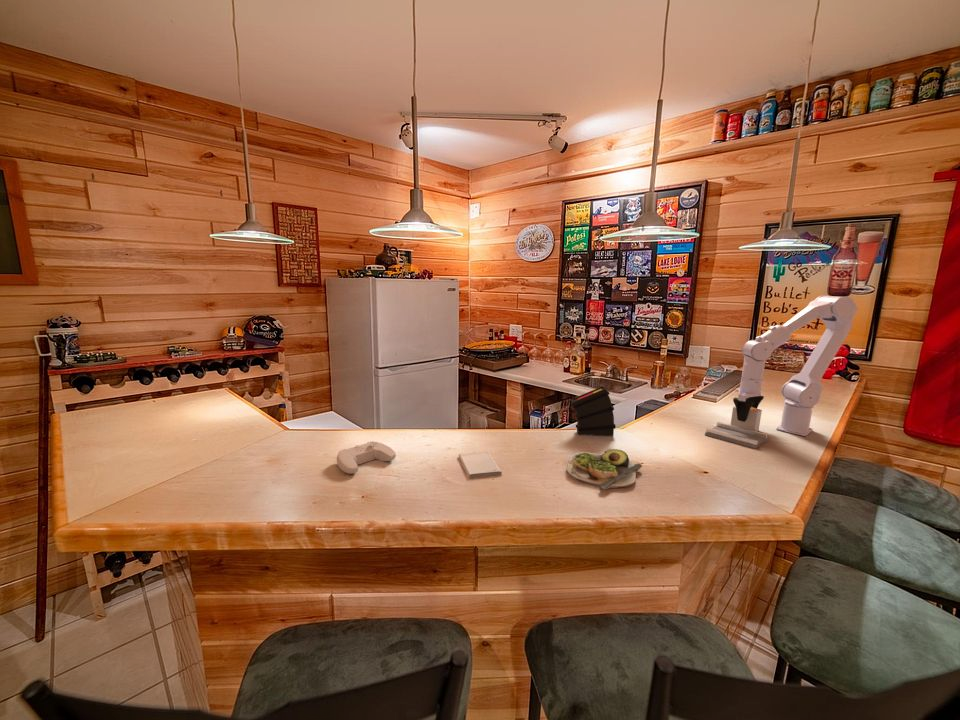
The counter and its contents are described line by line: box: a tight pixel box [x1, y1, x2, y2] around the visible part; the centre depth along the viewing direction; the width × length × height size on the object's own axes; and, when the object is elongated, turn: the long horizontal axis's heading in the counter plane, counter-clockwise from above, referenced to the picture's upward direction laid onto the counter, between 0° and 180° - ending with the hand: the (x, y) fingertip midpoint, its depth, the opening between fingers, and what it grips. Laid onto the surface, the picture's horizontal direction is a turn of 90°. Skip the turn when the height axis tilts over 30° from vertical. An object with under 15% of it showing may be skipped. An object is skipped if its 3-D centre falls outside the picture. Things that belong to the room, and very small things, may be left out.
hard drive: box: [458, 451, 503, 480], centre depth 108 cm, size 2×8×12 cm
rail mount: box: [704, 421, 769, 450], centre depth 131 cm, size 11×14×2 cm
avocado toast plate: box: [566, 448, 643, 490], centre depth 104 cm, size 19×18×5 cm
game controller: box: [336, 440, 397, 475], centre depth 108 cm, size 14×4×10 cm
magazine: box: [570, 385, 617, 437], centre depth 131 cm, size 4×13×15 cm, turn 88°
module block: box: [730, 405, 763, 432], centre depth 138 cm, size 4×7×7 cm, turn 41°
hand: (745, 418), depth 138 cm, fingers open, 7 cm apart
